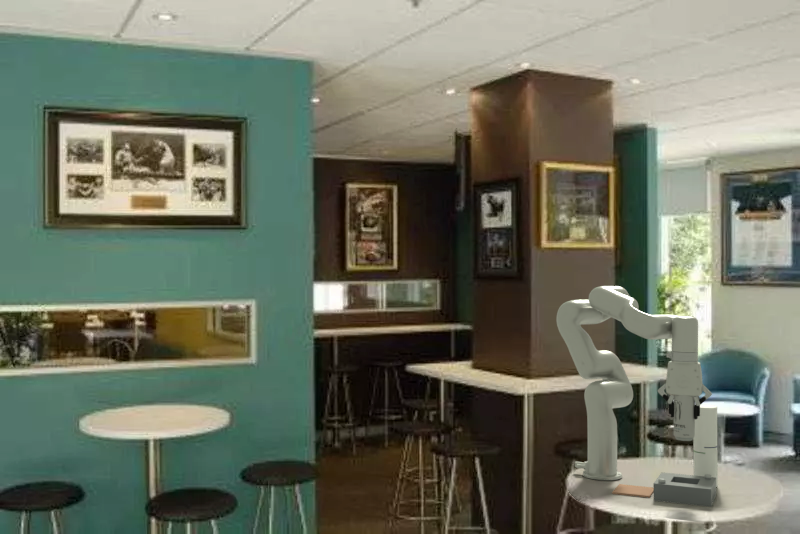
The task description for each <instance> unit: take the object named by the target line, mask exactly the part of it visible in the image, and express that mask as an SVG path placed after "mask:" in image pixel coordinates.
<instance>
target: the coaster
mask: <svg viewBox="0 0 800 534" xmlns="http://www.w3.org/2000/svg"><path fill="white" fill-rule="evenodd" d="M611 494H613V495H619V496H620V495H621V496H626V497H627V496H631V497H637V496H639V497H638V498H646V497H648V498H647V499H650V498H651V497H652V496H653V495H654V486H653V487H650V486H642V485H632V484H631V485H630V484H623V483H619V484H618V485H617V486H616V487H615V488H614V489H613V491H612V493H611ZM650 496H651V497H650Z"/></svg>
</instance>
